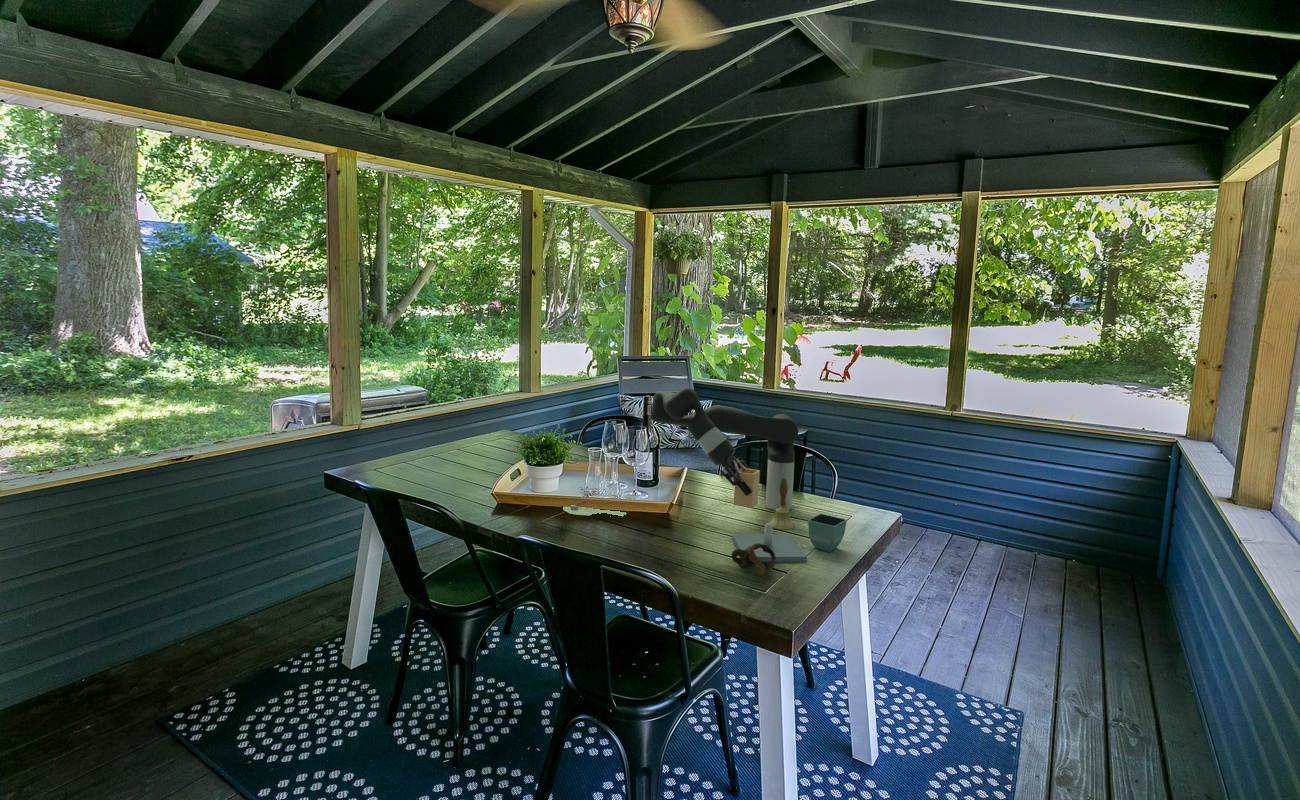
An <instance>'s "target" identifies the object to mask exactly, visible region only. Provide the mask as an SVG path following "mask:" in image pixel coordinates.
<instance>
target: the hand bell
mask: <svg viewBox="0 0 1300 800" xmlns="http://www.w3.org/2000/svg"><path fill="white" fill-rule="evenodd" d="M787 490H788V486H787V482H786V479H785V478H782V481H781V483H780V495H781V503H780V508H777V509H776V510H775V512H774V513H775V514H774V516H773V519H772V520H770V521H769V523H770V524H772V526H773V529H776V530H780V531H781V530H785V531H786V530H787V531H788V530H792V529H794V528H795V527H796V526H795V523H794V522H793V521H792V518H791V513H790V509H787V508H786V495H787Z"/></svg>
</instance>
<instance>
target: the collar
mask: <svg viewBox="0 0 1300 800" xmlns="http://www.w3.org/2000/svg"><path fill="white" fill-rule="evenodd" d="M745 469H746V471H745V472H743V469H742V468H741V469H740V476H741V477H742V479H743V480H744V482H745V483H746V484H747V485H748V487H749V488H750V489H751V490H752V492H751V493H750V494H749V495H748V496H746V495H745V494H744V493H743V492H742V490H741V489H740V488H739V487H738V486H736V485H735V486H734V493H733V506H737V507H743V508H749V509H754V508H755V507H756V506H757V505H758V503H759V495H760V494H759V493H760V492H759V491H760V476H761V470H758V469H753V468H749V469H747V468H745ZM736 473H737V472H736ZM737 477H738V476H737ZM735 480H736V479H735Z"/></svg>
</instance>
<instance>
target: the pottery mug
mask: <svg viewBox="0 0 1300 800" xmlns="http://www.w3.org/2000/svg"><path fill="white" fill-rule="evenodd" d="M758 548H762V549H763V551H764V552H767V553H770V555H771V558H772V560H771V561H769V562H764V564H763V562H762V560H761V559H759V558H758V557H757V556H756V554H755V553H754V550H756V549H758ZM737 556H738V557H737ZM731 559H732V561H733V562H734V563H735V564H737V566H738V567H739V568H741V569H742V568H743V564H744V563H752V564H754V565H755V566H756V567H758V570H757V571H756V575H757V576H759V577H762V576H764V575H765V574H767V573H769V572H770V571H771V570H773V569H774V568H775V565H776V562H775V559H776V556H775V553H774V552H773V550H772V549H771V548H770V547H768V546H766V545H764V544H760V543H756V544H754V545H752V546H750V547H748V548H746V549H745V550H741V549H737V548H736V549H734V550H733V551H732V552H731Z"/></svg>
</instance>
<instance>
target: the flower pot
mask: <svg viewBox="0 0 1300 800" xmlns="http://www.w3.org/2000/svg"><path fill="white" fill-rule="evenodd" d="M847 522H848V520H847V519H846V518H842V517H837V516H833V515H828V514H825V513H818V514H816V515H815V516H813V517H811V518H809V519H808V520H807V523H808V535H809V540H810V542H811V543H812V545H813V547H814V549H817V550H821V551H824V552H829V553H830V552H833V551H834V550H835V549H837V548H838V547H839V546H840V544H841V542H842V540H843V538H844V537H845V531H846V528H847Z"/></svg>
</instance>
